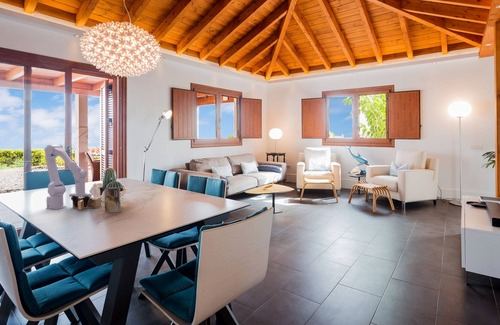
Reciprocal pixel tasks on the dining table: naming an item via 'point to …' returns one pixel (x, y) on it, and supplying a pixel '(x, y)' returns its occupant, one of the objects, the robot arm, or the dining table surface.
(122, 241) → the dining table surface
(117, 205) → the coffee box
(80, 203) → the tall wooden plank
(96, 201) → the wooden block
